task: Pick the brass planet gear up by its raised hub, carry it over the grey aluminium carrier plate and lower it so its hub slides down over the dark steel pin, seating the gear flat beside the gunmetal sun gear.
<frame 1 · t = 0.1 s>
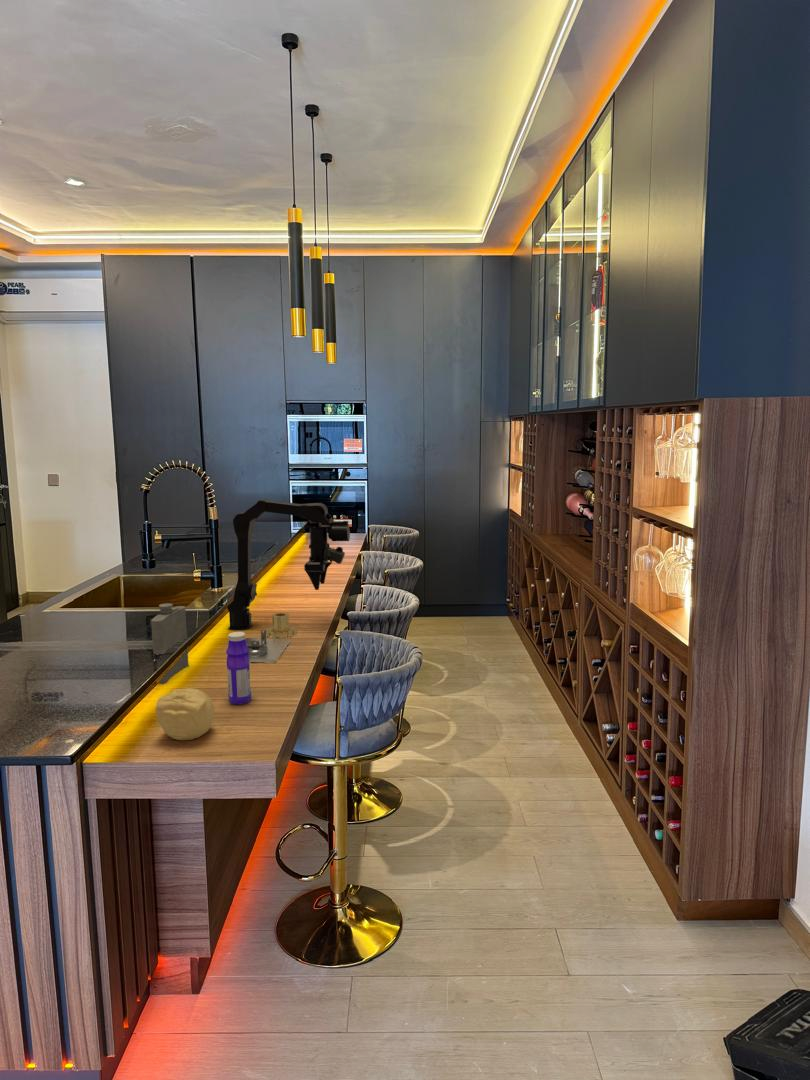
hand: (319, 586, 238), 15 cm above the table, tool pointing down, fingers open, 9 cm apart
hip flask: (171, 674, 197), on the table
planet gear: (281, 633, 234), on the table
bottle: (240, 701, 178), on the table
carrier plate: (260, 651, 216), on the table
sculpture: (187, 735, 159), on the table
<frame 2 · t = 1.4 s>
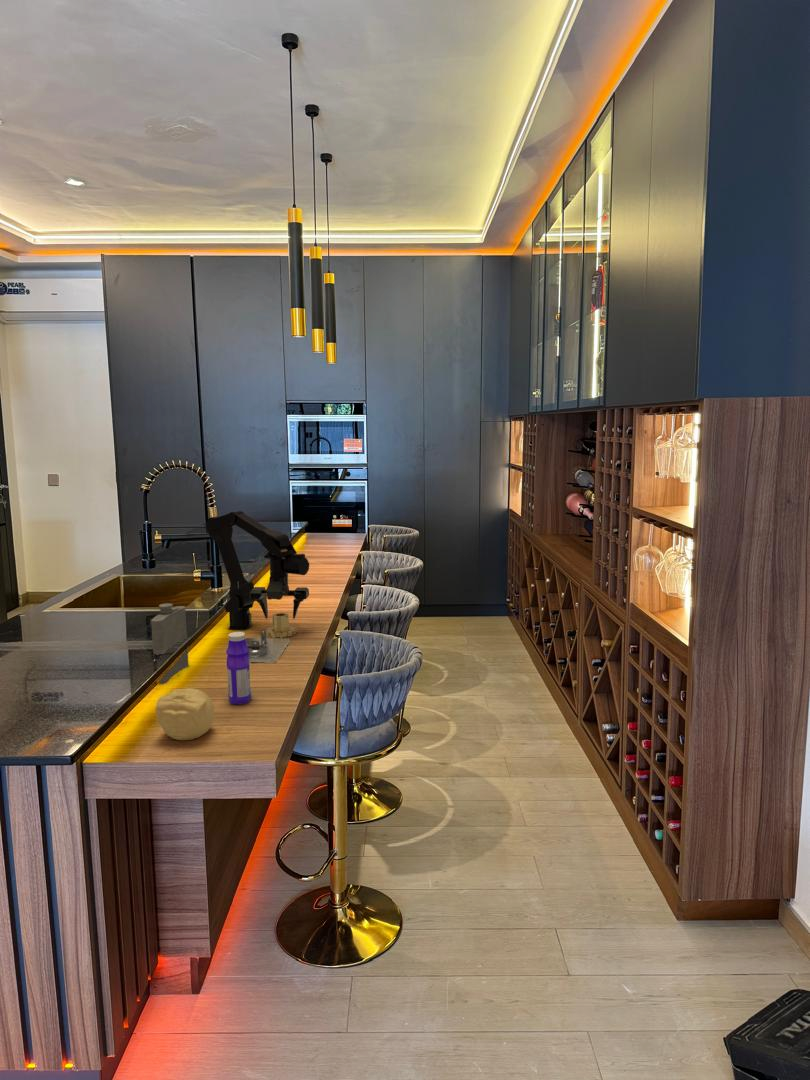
hand: (280, 618, 233), 5 cm above the table, tool pointing down, fingers open, 9 cm apart
nothing on the table moved.
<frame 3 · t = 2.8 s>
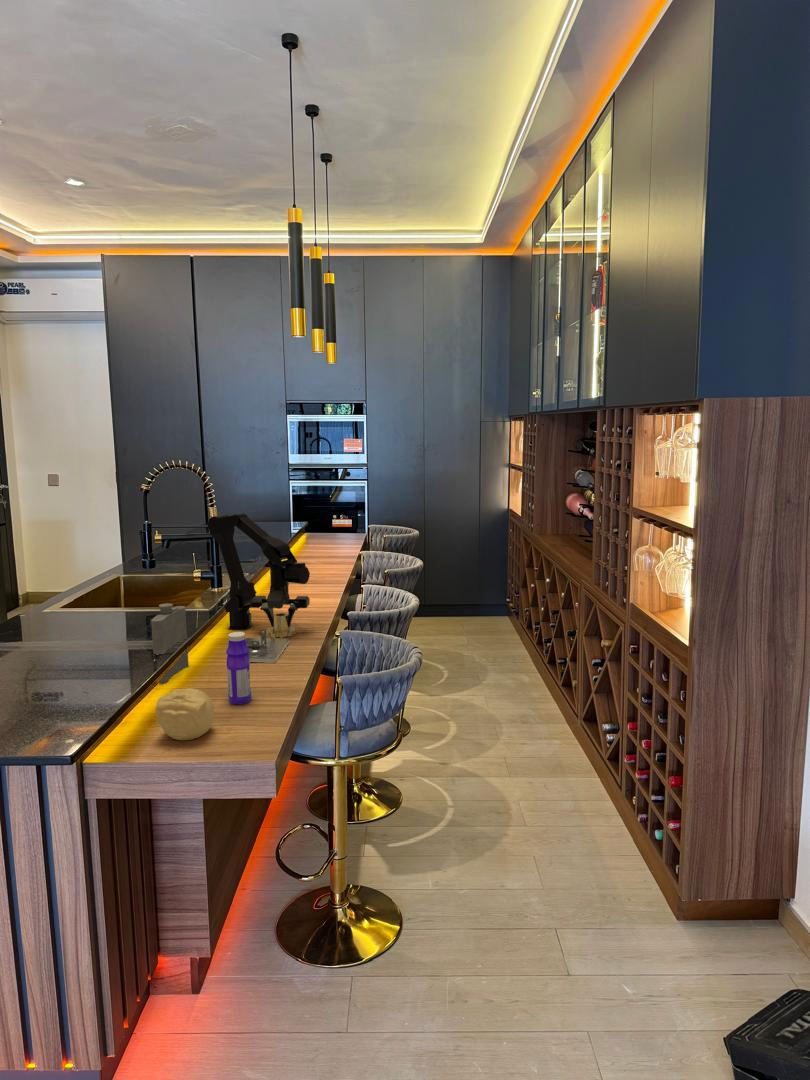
hand: (281, 627, 234), 2 cm above the table, tool pointing down, fingers closed on planet gear, 5 cm apart
planet gear: (281, 633, 234), on the table, touching gripper
everything else where it was.
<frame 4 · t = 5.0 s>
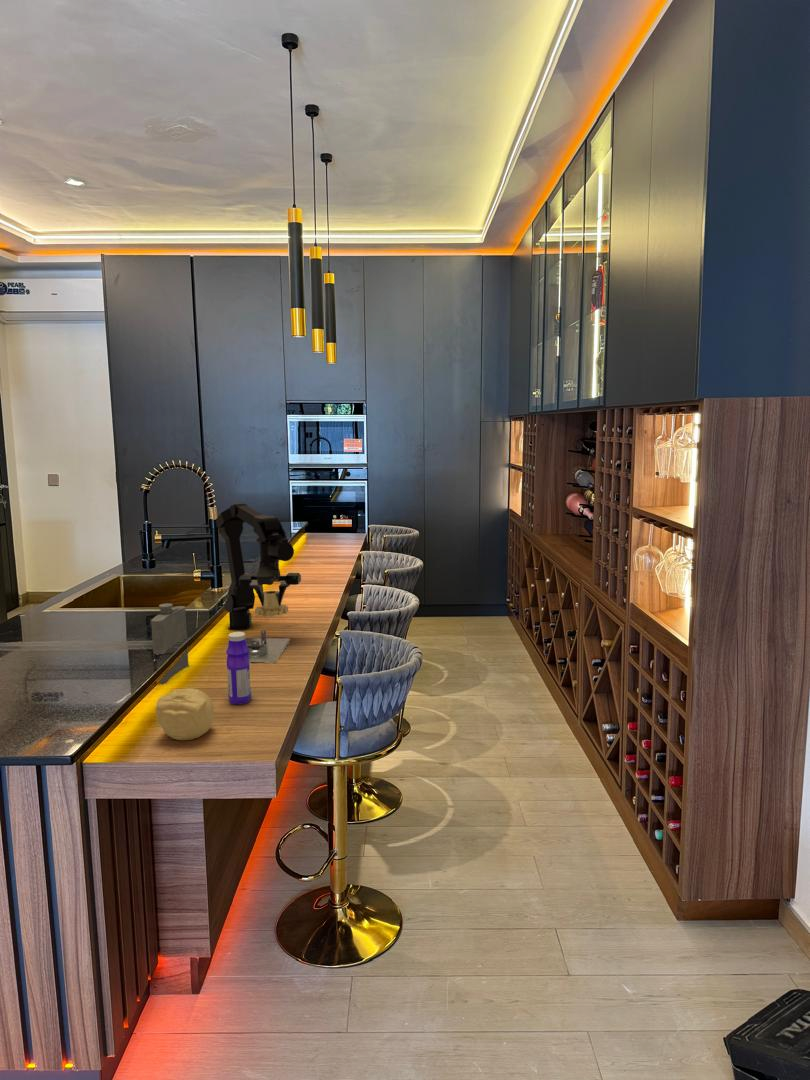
hand: (271, 605, 224), 12 cm above the table, tool pointing down, fingers closed on planet gear, 5 cm apart
planet gear: (271, 612, 224), point 10 cm above the table, touching gripper
everything else where it was.
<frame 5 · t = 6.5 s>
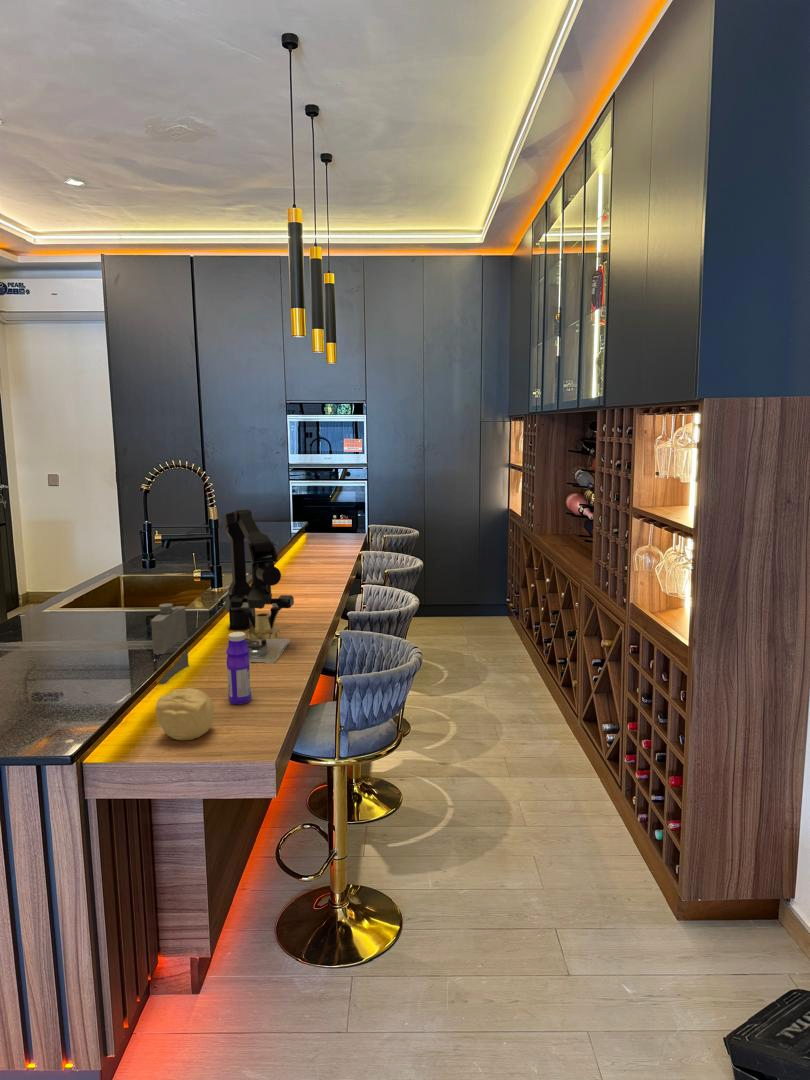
hand: (263, 628, 219), 6 cm above the table, tool pointing down, fingers closed on planet gear, 5 cm apart
planet gear: (263, 635, 219), point 4 cm above the table, touching gripper
everything else where it was.
when the fingers open (5 cm above the table, at t = 7.6 s): planet gear drops 1 cm, resting on carrier plate.
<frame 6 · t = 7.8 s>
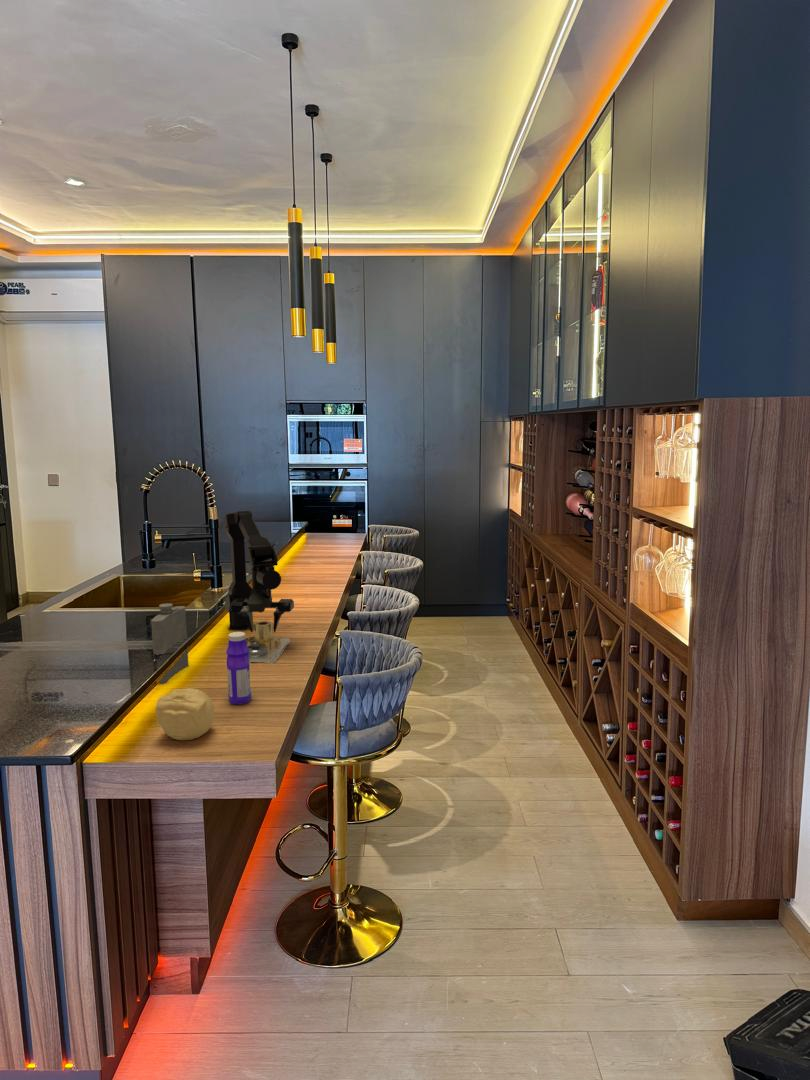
hand: (263, 631, 219), 5 cm above the table, tool pointing down, fingers open, 7 cm apart
planet gear: (263, 643, 220), point 1 cm above the table, touching carrier plate
everything else where it was.
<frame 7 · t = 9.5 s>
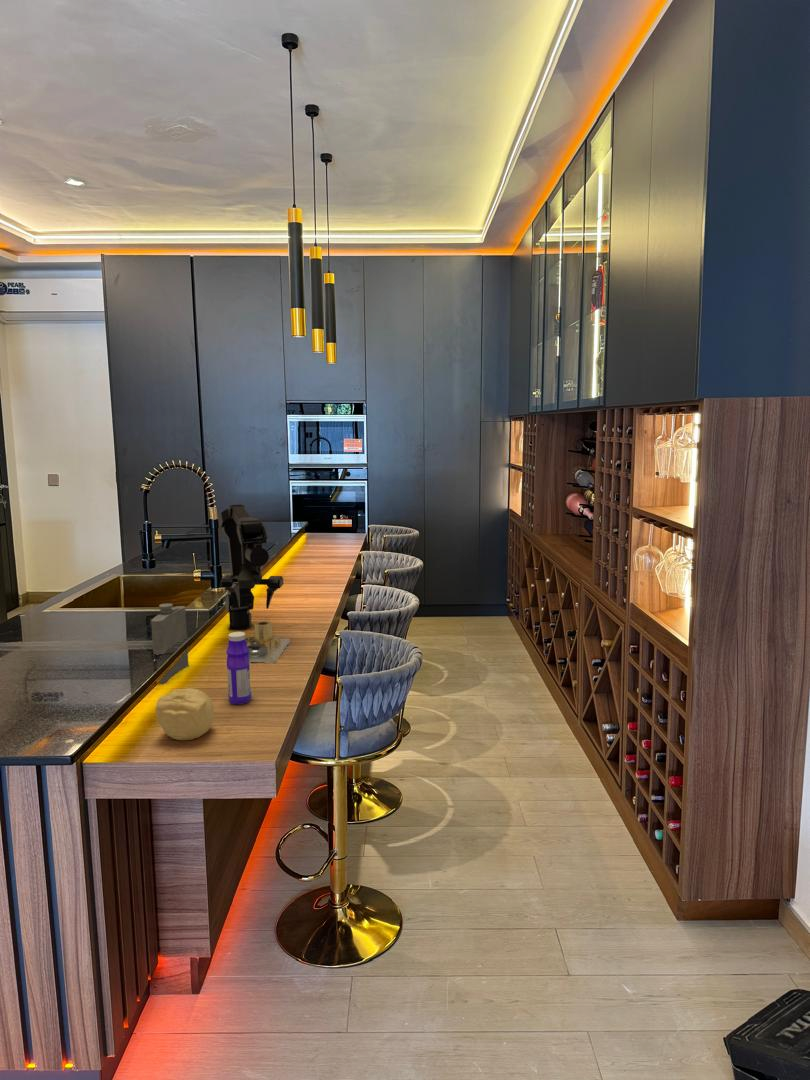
hand: (253, 608, 222), 11 cm above the table, tool pointing down, fingers open, 9 cm apart
nothing on the table moved.
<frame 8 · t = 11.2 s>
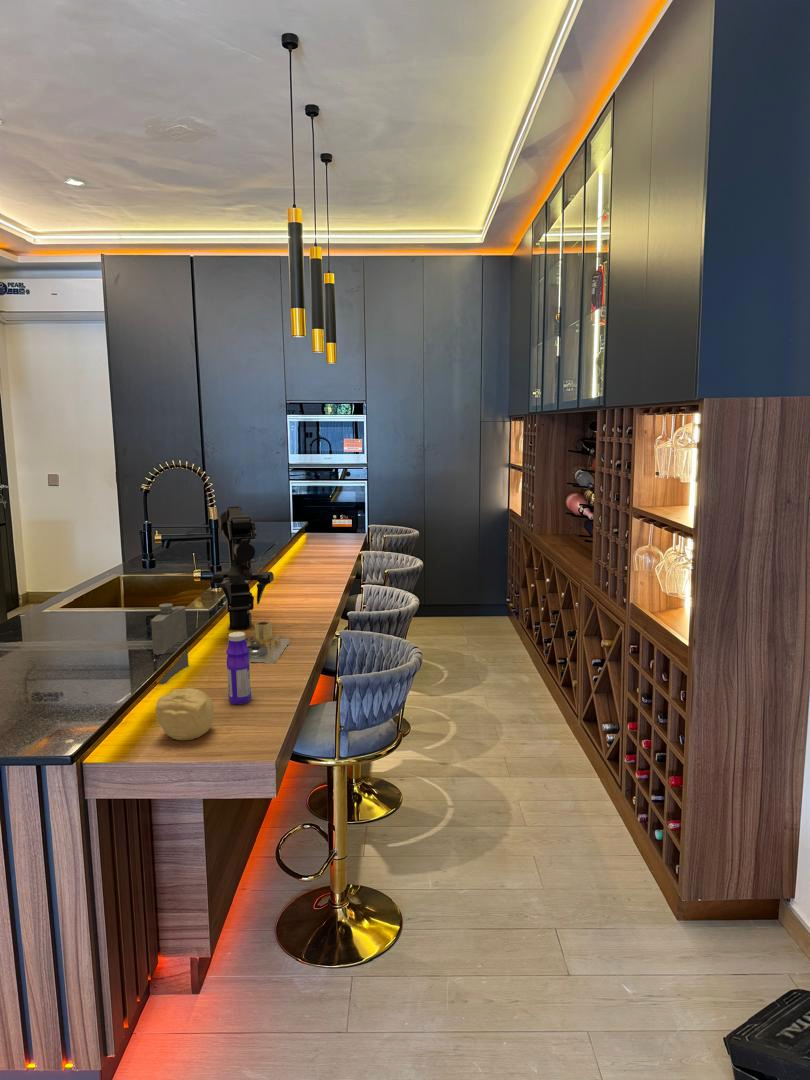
hand: (244, 603, 226), 12 cm above the table, tool pointing down, fingers open, 9 cm apart
nothing on the table moved.
at the end: planet gear 0.0 cm from the target spot on the carrier plate, point 1.2 cm above the carrier plate's base; planet gear tilted 0°; the gripper is holding nothing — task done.
